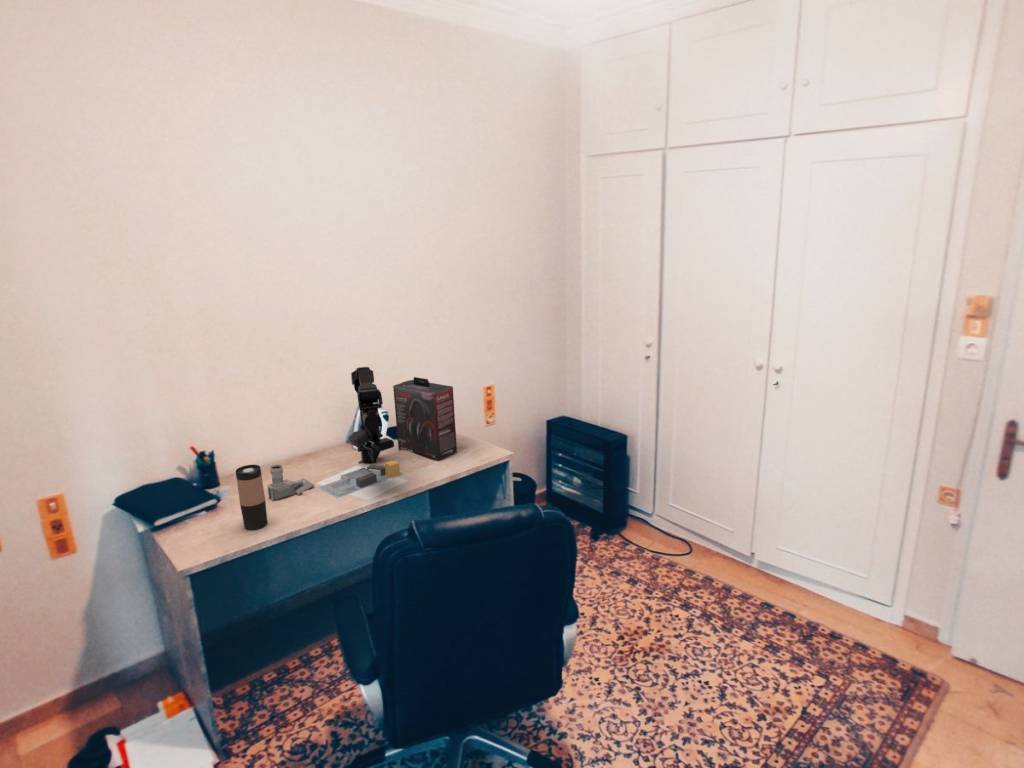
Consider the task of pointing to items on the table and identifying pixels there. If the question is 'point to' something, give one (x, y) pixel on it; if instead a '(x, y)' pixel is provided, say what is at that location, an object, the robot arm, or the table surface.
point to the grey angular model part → (285, 484)
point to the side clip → (354, 474)
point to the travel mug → (251, 497)
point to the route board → (373, 468)
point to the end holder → (343, 491)
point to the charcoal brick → (366, 480)
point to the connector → (392, 469)
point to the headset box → (425, 418)
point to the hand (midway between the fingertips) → (374, 462)
